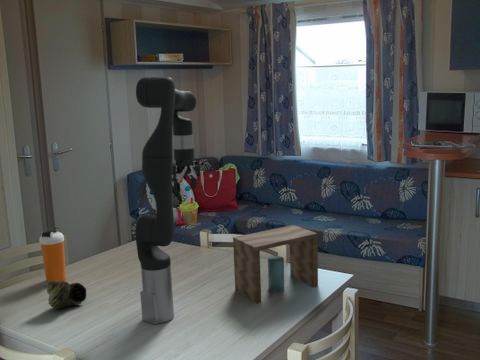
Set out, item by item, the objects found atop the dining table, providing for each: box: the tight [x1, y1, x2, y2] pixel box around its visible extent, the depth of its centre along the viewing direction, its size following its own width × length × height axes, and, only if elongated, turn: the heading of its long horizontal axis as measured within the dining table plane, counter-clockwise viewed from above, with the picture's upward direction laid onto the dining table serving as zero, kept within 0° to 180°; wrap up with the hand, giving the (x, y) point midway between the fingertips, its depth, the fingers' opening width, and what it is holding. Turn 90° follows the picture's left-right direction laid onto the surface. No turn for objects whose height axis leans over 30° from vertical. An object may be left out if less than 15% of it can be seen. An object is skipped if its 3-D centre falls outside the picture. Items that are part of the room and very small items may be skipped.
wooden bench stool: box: [232, 224, 319, 304], centre depth 187 cm, size 14×26×20 cm, turn 120°
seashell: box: [45, 280, 87, 310], centre depth 178 cm, size 11×11×10 cm
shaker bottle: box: [38, 227, 67, 282], centre depth 203 cm, size 9×9×20 cm
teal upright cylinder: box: [267, 255, 285, 292], centre depth 188 cm, size 6×6×11 cm
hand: (185, 190), depth 197 cm, fingers open, 8 cm apart
